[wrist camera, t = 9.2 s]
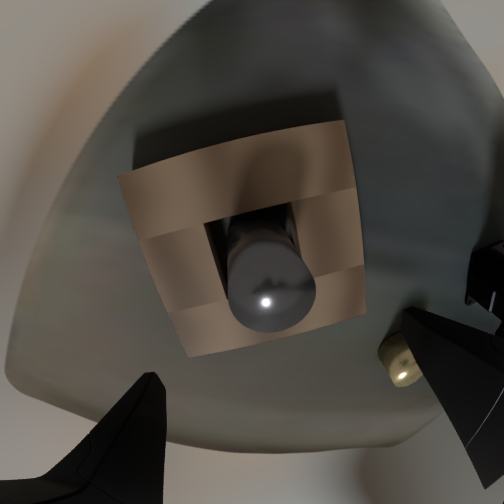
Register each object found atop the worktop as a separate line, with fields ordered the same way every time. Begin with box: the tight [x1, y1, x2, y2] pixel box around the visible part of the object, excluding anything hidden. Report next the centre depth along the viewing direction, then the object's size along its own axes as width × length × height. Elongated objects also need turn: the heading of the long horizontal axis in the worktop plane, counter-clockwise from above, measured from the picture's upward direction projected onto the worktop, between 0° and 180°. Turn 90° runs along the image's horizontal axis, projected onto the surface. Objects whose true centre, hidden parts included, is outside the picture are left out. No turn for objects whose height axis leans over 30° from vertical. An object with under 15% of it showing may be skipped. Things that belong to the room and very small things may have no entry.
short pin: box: [378, 332, 423, 387], centre depth 24 cm, size 4×4×4 cm
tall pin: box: [227, 212, 316, 333], centre depth 16 cm, size 4×4×8 cm
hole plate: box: [117, 120, 366, 357], centre depth 19 cm, size 14×14×2 cm
